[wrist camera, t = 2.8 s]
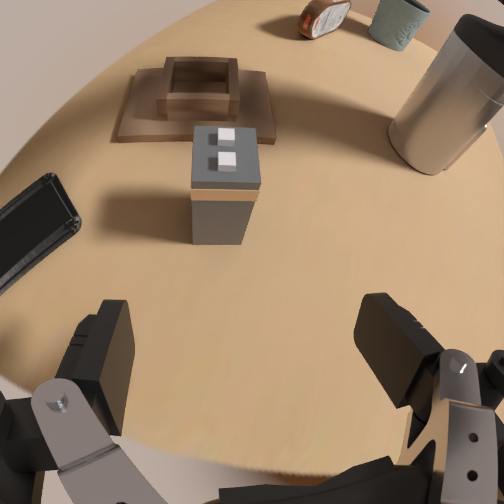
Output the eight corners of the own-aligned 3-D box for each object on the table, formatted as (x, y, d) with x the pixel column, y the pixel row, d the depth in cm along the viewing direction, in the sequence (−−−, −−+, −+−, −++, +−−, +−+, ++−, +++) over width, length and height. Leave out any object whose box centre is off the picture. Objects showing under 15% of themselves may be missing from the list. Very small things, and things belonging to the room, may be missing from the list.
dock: (263, 77, 35) (269, 53, 32) (274, 144, 31) (283, 117, 27) (138, 75, 33) (135, 50, 29) (118, 142, 28) (112, 115, 24)
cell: (238, 197, 28) (257, 121, 19) (241, 245, 26) (263, 177, 17) (193, 197, 27) (194, 118, 18) (192, 245, 25) (190, 175, 17)
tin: (330, 23, 47) (343, -10, 40) (344, 30, 47) (357, -3, 39) (290, 38, 41) (303, -4, 34) (307, 46, 41) (321, 4, 33)
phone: (83, 222, 24) (-31, 319, 18) (87, 228, 25) (-25, 322, 19) (52, 168, 25) (-50, 255, 20) (56, 174, 26) (-44, 259, 21)
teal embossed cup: (362, 23, 51) (380, -18, 40) (401, 39, 52) (421, 1, 41) (370, 42, 47) (392, -4, 36) (413, 60, 48) (438, 19, 37)
